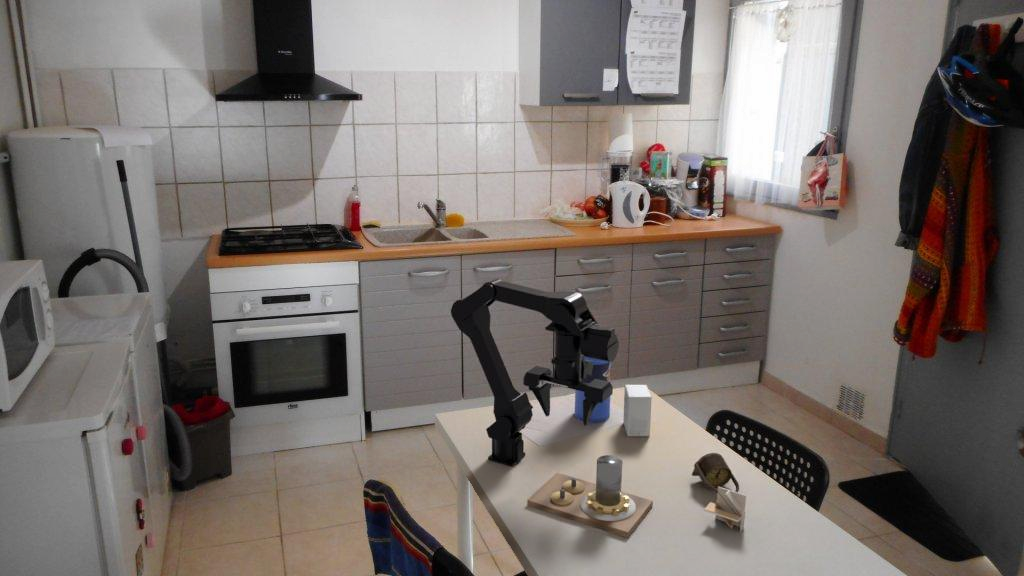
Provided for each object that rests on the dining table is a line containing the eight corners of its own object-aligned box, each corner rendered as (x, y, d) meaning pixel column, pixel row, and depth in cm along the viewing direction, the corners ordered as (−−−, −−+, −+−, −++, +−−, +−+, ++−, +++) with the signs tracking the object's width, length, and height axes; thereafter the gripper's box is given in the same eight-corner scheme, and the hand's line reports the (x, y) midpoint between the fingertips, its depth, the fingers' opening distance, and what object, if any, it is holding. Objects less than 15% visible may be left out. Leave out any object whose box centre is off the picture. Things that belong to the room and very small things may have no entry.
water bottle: (572, 421, 192) (574, 328, 185) (575, 406, 201) (578, 316, 194) (609, 424, 190) (613, 330, 184) (610, 408, 199) (614, 318, 192)
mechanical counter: (741, 455, 164) (696, 443, 164) (752, 480, 151) (703, 466, 152) (732, 485, 165) (687, 473, 166) (742, 512, 153) (693, 498, 153)
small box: (650, 437, 183) (652, 397, 181) (626, 437, 184) (628, 397, 181) (645, 422, 191) (647, 384, 188) (622, 422, 191) (624, 384, 188)
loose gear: (579, 508, 150) (580, 464, 148) (597, 489, 157) (598, 447, 155) (619, 521, 146) (621, 476, 143) (636, 501, 153) (638, 457, 150)
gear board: (527, 505, 154) (527, 491, 153) (556, 477, 165) (557, 464, 164) (627, 537, 143) (628, 523, 142) (652, 505, 154) (653, 491, 153)
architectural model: (737, 537, 144) (741, 503, 142) (703, 525, 148) (705, 492, 146) (743, 529, 147) (747, 495, 145) (709, 517, 151) (712, 484, 149)
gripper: (624, 349, 160) (621, 416, 164) (547, 334, 169) (546, 398, 174) (602, 365, 151) (600, 436, 155) (522, 348, 160) (521, 416, 164)
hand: (566, 420), depth 162 cm, fingers open, 9 cm apart
